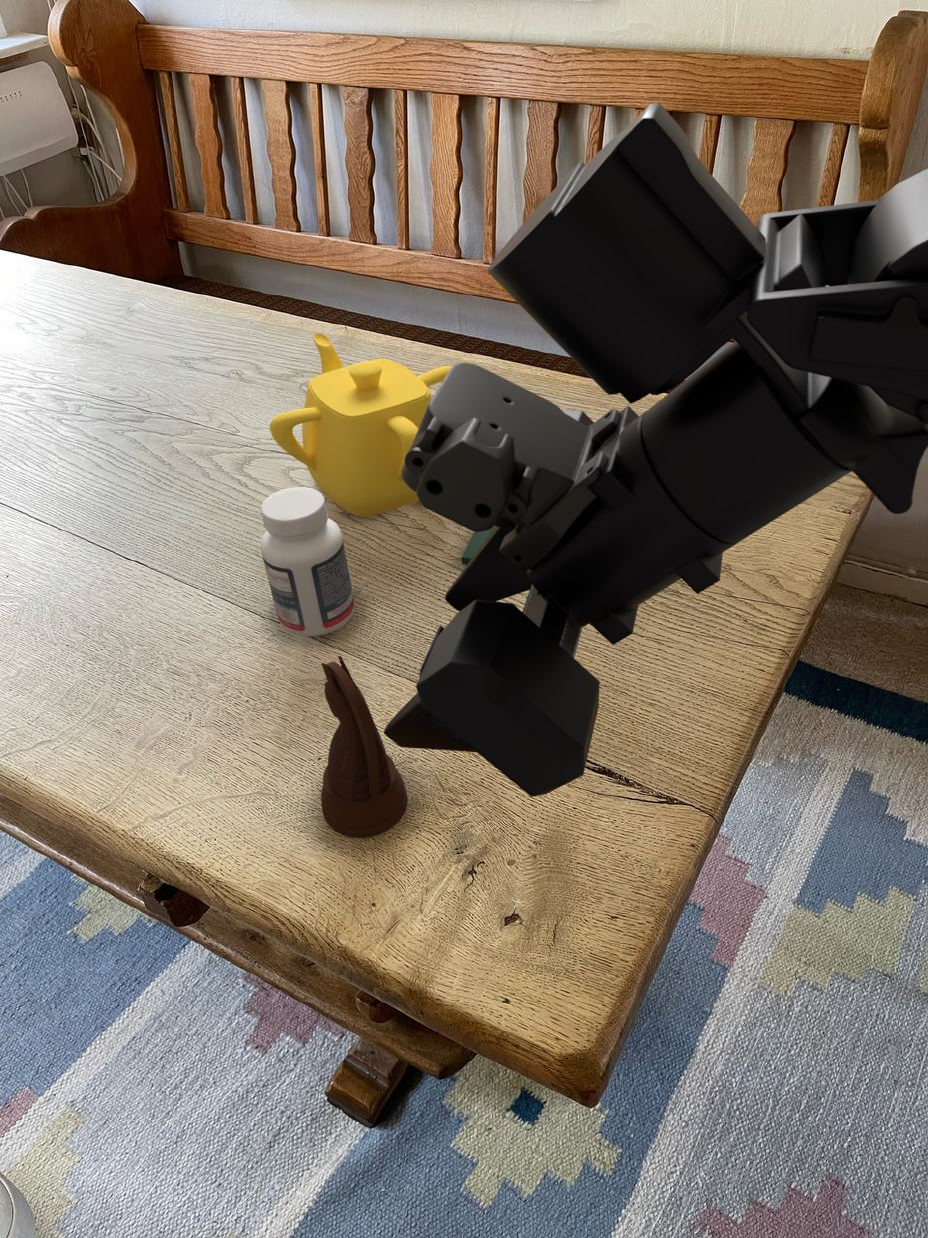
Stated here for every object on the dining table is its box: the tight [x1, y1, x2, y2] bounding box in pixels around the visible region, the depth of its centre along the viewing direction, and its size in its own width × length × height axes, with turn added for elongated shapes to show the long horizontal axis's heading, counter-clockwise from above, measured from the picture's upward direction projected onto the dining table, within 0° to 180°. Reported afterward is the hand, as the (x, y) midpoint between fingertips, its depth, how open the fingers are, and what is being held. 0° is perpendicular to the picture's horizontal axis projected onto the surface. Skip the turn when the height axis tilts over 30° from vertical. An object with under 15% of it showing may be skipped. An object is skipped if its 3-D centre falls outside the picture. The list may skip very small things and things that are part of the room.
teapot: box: [269, 332, 453, 517], centre depth 75 cm, size 14×13×10 cm
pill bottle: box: [260, 486, 356, 638], centre depth 62 cm, size 5×5×9 cm
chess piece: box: [320, 655, 409, 840], centre depth 49 cm, size 5×5×10 cm
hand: (424, 665), depth 44 cm, fingers open, 9 cm apart
